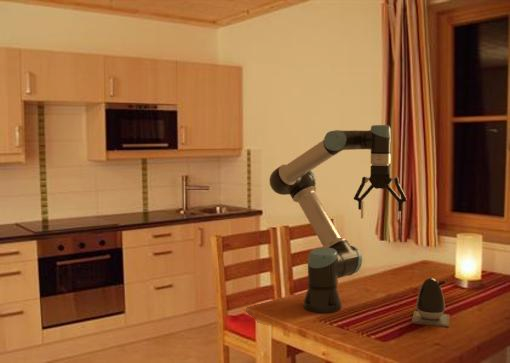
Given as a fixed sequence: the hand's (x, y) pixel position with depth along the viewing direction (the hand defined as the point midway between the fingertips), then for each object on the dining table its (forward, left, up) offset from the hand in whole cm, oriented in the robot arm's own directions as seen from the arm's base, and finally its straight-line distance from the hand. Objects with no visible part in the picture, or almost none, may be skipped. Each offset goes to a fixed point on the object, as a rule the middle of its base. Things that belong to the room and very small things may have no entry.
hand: (379, 218), depth 214 cm
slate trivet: (+20, -5, -37) cm, 42 cm away
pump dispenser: (+20, -5, -36) cm, 42 cm away
